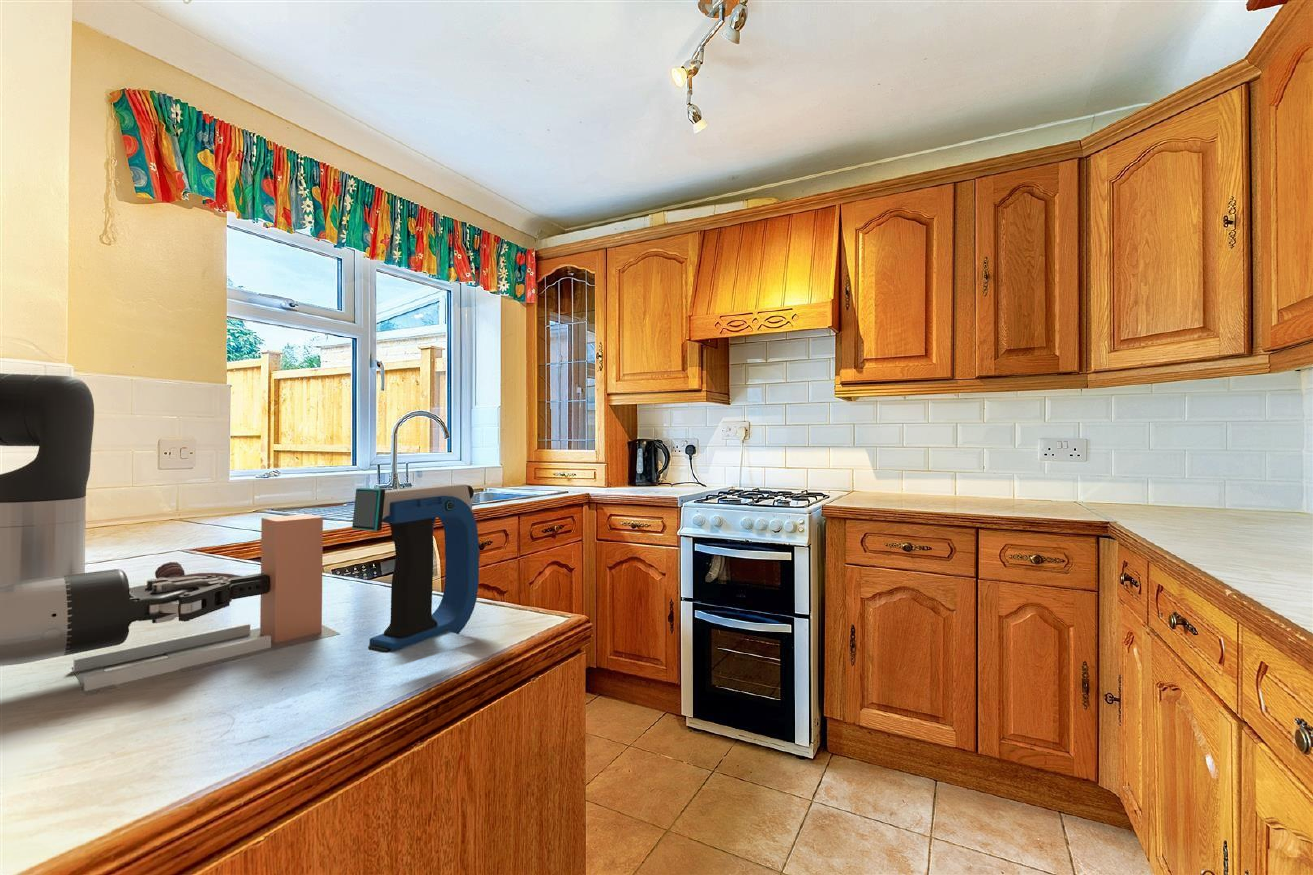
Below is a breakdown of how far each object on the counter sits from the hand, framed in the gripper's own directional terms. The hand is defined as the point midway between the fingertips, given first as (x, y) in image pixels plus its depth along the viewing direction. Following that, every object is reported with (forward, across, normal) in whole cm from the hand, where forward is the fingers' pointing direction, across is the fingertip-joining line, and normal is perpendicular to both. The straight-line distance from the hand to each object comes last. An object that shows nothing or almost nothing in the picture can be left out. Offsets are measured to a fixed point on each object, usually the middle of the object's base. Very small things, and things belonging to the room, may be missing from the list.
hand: (267, 582), depth 68 cm
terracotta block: (+2, 0, +6) cm, 7 cm away
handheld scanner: (+12, -13, +8) cm, 19 cm away
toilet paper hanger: (-3, +23, +9) cm, 25 cm away
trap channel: (-4, 0, +8) cm, 9 cm away
